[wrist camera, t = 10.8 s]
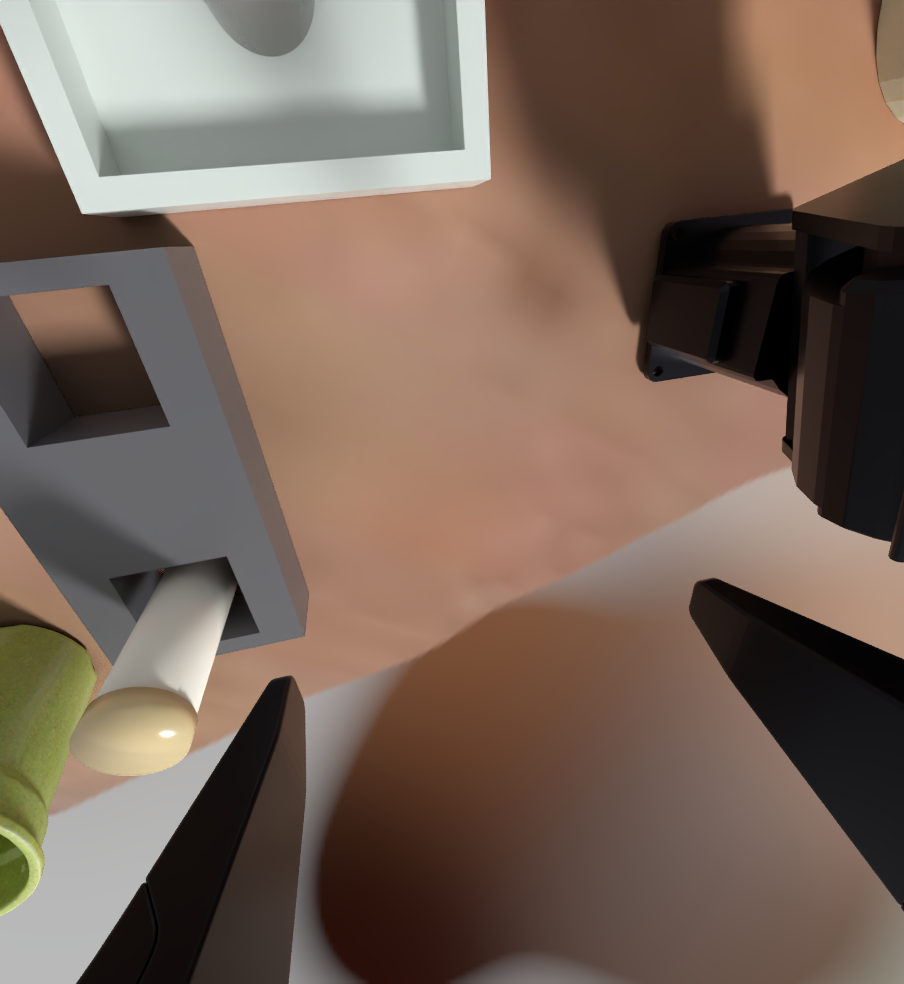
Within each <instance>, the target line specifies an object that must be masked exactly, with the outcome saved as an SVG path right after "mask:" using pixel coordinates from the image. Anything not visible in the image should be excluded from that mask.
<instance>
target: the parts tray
mask: <svg viewBox="0 0 904 984" xmlns="http://www.w3.org/2000/svg"><path fill="white" fill-rule="evenodd" d="M0 24H1V27H2V29H3V31H4V34H5V36H6V38H7V41H8V43H9V45H10V48H11V50H12V52H13V55H14V57H15V59H16V62H17V64H18V66H19V69H20V71H21V73H22V76H23V78H24V80H25V83H26V85H27V87H28V90H29V92H30V94H31V96H32V99H33V101H34V103H35V106H36V108H37V110H38V113H39V115H40V117H41V120H42V122H43V124H44V127H45V129H46V131H47V134H48V136H49V138H50V141H51V143H52V145H53V148H54V150H55V152H56V155H57V157H58V159H59V162H60V164H61V166H62V169H63V171H64V173H65V175H66V178H67V180H68V182H69V185H70V187H71V189H72V192H73V194H74V196H75V199H76V201H77V203H78V206H79V208H80V210H81V213H82V214H88V215H97V216H106V217H115V218H120V217H131V216H143V215H154V214H166V213H177V212H189V211H200V210H212V209H223V208H235V207H246V206H258V205H269V204H281V203H292V202H304V201H315V200H327V199H338V198H350V197H361V196H372V195H384V194H395V193H407V192H418V191H430V190H441V189H453V188H464V187H474V186H476V185H478V184H481V183H483V182H485V181H488V180H490V179H491V167H490V138H489V110H488V81H487V53H486V24H485V0H315V4H314V14H313V19H312V23H311V26H310V29H309V31H308V33H307V35H306V37H305V38H304V40H303V41H302V42H301V44H300V45H299V46H298V47H297V48H295V49H294V50H293V51H291V52H289V53H287V54H285V55H282V56H276V57H268V56H262V55H258V54H255V53H253V52H251V51H249V50H247V49H245V48H243V47H242V46H241V45H239V44H238V43H237V42H235V41H234V40H233V39H232V38H231V37H230V36H229V35H228V34H227V33H226V32H225V31H224V29H223V28H222V27H221V25H220V24H219V23H218V21H217V20H216V18H215V17H214V15H213V13H212V12H211V10H210V8H209V6H208V5H207V3H206V1H205V0H0Z"/></svg>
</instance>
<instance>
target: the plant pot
mask: <svg viewBox="0 0 904 984" xmlns="http://www.w3.org/2000/svg"><path fill="white" fill-rule="evenodd" d="M96 680H97V674H96V673H95V671H94V669H93V666H92V663H91V659H90V655H89V653H88V652H87V651H86V650H85V649H84V648H83V647H82V646H81V645H79V644H78V643H76V642H75V641H73V640H72V639H70V638H68V637H66V636H64V635H62V634H59V633H57V632H54V631H51V630H48V629H45V628H41V627H36V626H32V625H16V626H11V627H3V628H0V916H2V915H4V914H6V913H8V912H10V911H11V910H13V909H14V908H16V907H17V906H19V905H20V904H21V903H22V902H24V901H25V900H26V899H27V898H28V897H29V896H30V895H31V894H32V893H33V891H34V890H35V888H36V887H37V885H38V883H39V880H40V878H41V876H42V873H43V869H44V854H43V851H42V848H41V845H42V843H43V840H44V837H45V834H46V830H47V825H48V810H49V807H50V804H51V801H52V798H53V796H54V793H55V790H56V787H57V785H58V782H59V779H60V777H61V774H62V771H63V768H64V766H65V763H66V760H67V757H68V755H69V752H70V747H69V740H70V737H71V735H72V733H73V731H74V729H75V727H76V726H77V724H78V722H79V720H80V718H81V717H82V715H83V713H84V711H85V709H86V707H87V704H88V702H89V699H90V696H91V693H92V691H93V688H94V686H95V683H96Z"/></svg>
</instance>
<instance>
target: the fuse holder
mask: <svg viewBox="0 0 904 984" xmlns="http://www.w3.org/2000/svg"><path fill="white" fill-rule="evenodd" d="M102 285H109V286H110V289H111V291H112V293H113V296H114V298H115V300H116V303H117V305H118V307H119V309H120V312H121V314H122V316H123V319H124V321H125V323H126V326H127V328H128V330H129V332H130V335H131V337H132V339H133V342H134V344H135V346H136V349H137V351H138V353H139V355H140V358H141V360H142V362H143V365H144V367H145V369H146V372H147V374H148V376H149V379H150V381H151V383H152V385H153V388H154V390H155V392H156V395H157V397H158V399H159V402H160V404H161V405H156V406H149V407H142V408H135V409H128V410H121V411H114V412H107V413H100V414H93V415H86V416H79V417H74V415H73V413H72V411H71V410H70V408H69V406H68V404H67V402H66V400H65V399H64V397H63V395H62V393H61V391H60V389H59V387H58V386H57V384H56V382H55V380H54V378H53V376H52V375H51V373H50V371H49V369H48V367H47V365H46V364H45V362H44V360H43V358H42V356H41V354H40V353H39V351H38V349H37V347H36V345H35V343H34V342H33V340H32V338H31V336H30V334H29V332H28V331H27V329H26V327H25V325H24V323H23V321H22V319H21V318H20V316H19V314H18V312H17V310H16V308H15V307H14V305H13V303H12V301H11V299H10V297H9V296H8V295H17V294H27V293H36V292H45V291H55V290H64V289H74V288H83V287H93V286H102ZM0 507H1V509H2V510H3V511H4V513H5V514H6V516H7V517H8V518H9V520H10V521H11V523H12V524H13V525H14V527H15V528H16V530H17V531H18V532H19V534H20V535H21V537H22V538H23V540H24V541H25V542H26V544H27V545H28V547H29V548H30V549H31V551H32V552H33V554H34V555H35V556H36V558H37V559H38V561H39V562H40V563H41V565H42V566H43V568H44V569H45V571H46V572H47V573H48V575H49V576H50V578H51V579H52V580H53V582H54V583H55V585H56V586H57V587H58V589H59V590H60V592H61V593H62V594H63V596H64V597H65V599H66V600H67V602H68V603H69V604H70V606H71V607H72V609H73V610H74V611H75V613H76V614H77V616H78V617H79V618H80V620H81V621H82V623H83V624H84V625H85V627H86V628H87V630H88V631H89V633H90V634H91V635H92V637H93V638H94V640H95V641H96V642H97V644H98V645H99V647H100V648H101V649H102V651H103V652H104V654H105V655H106V656H107V658H108V659H109V661H110V662H111V664H112V665H113V666H114V664H115V662H116V660H117V658H118V656H119V655H120V653H121V651H122V649H123V647H124V645H125V644H126V642H127V640H128V638H129V636H130V634H131V633H132V631H133V629H134V627H135V625H136V623H137V622H138V620H139V618H140V616H141V614H142V612H143V611H144V609H145V607H146V605H147V603H148V601H149V599H150V598H151V596H152V594H153V592H154V590H155V588H156V587H157V585H158V583H159V581H160V579H161V575H160V573H159V571H158V569H162V568H167V567H173V566H178V565H183V564H188V563H194V562H199V561H204V560H209V559H215V558H220V557H225V556H227V558H228V560H229V563H230V565H231V567H232V570H233V572H234V574H235V577H236V579H237V581H238V583H239V586H240V588H241V590H242V593H243V594H241V595H236V596H234V597H233V600H232V603H231V606H230V610H229V613H228V616H227V619H226V622H225V626H224V629H223V632H222V635H221V638H220V642H219V645H218V648H217V651H216V655H221V654H225V653H230V652H235V651H239V650H244V649H248V648H253V647H257V646H262V645H267V644H271V643H276V642H280V641H285V640H289V639H294V638H298V637H303V636H305V630H306V619H307V609H308V599H309V591H308V588H307V585H306V582H305V579H304V576H303V573H302V570H301V567H300V564H299V561H298V558H297V555H296V552H295V549H294V546H293V543H292V540H291V537H290V534H289V531H288V528H287V525H286V522H285V519H284V516H283V513H282V510H281V507H280V504H279V501H278V498H277V495H276V492H275V489H274V486H273V483H272V480H271V477H270V474H269V471H268V468H267V465H266V462H265V459H264V456H263V453H262V450H261V447H260V444H259V441H258V438H257V435H256V432H255V429H254V426H253V423H252V420H251V417H250V414H249V411H248V408H247V405H246V402H245V399H244V396H243V393H242V390H241V387H240V384H239V381H238V378H237V375H236V372H235V369H234V366H233V363H232V360H231V357H230V354H229V351H228V348H227V345H226V342H225V339H224V336H223V333H222V330H221V327H220V324H219V321H218V318H217V315H216V312H215V309H214V306H213V303H212V300H211V297H210V294H209V291H208V288H207V285H206V282H205V279H204V276H203V273H202V270H201V267H200V264H199V261H198V258H197V255H196V252H195V249H194V246H185V247H158V248H148V249H138V250H127V251H117V252H107V253H96V254H86V255H76V256H65V257H55V258H45V259H34V260H24V261H14V262H3V263H0ZM216 655H215V656H216Z"/></svg>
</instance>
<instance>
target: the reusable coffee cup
mask: <svg viewBox="0 0 904 984" xmlns="http://www.w3.org/2000/svg"><path fill="white" fill-rule="evenodd" d="M876 62H877V70H878V79H879V84H880V87H881V90H882V93H883V96H884V99H885V102H886V104H887V105H888V107H889V108H890V110H891V111H892V113H893V114H894V116H895V117H896V118H897V119H898V120H900V121H901V122H902V123H904V0H882V5H881V10H880V16H879V22H878V28H877V48H876Z"/></svg>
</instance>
